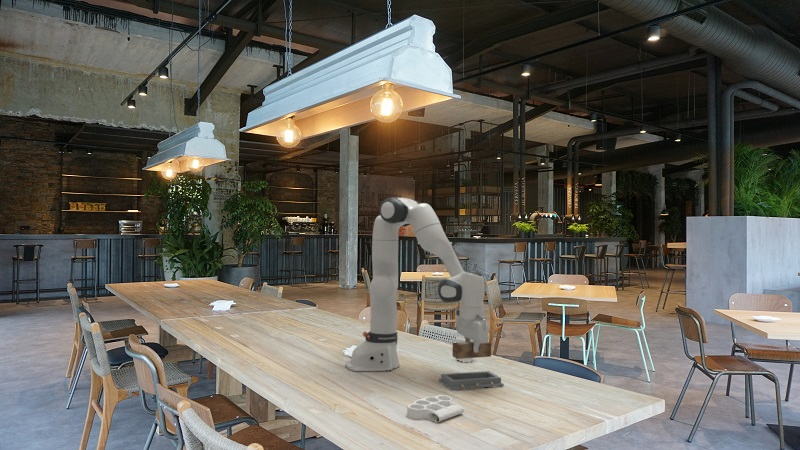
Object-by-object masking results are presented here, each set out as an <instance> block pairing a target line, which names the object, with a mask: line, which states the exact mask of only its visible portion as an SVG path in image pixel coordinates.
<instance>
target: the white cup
mask: <svg viewBox="0 0 800 450" xmlns="http://www.w3.org/2000/svg"><path fill="white" fill-rule="evenodd" d="M455 341H456V342H455V343H460V342H465V339H464V336H457V337H455ZM470 341H471V342H473V340H471V339H470ZM457 360H459V361H465V362H464V363H466V362H467V363H470V362H469V361H473V358H463V359H456V361H457ZM459 361H458V362H459Z"/></svg>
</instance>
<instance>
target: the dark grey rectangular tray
mask: <svg viewBox="0 0 800 450" xmlns="http://www.w3.org/2000/svg"><path fill="white" fill-rule="evenodd" d="M440 376H441V378H438V382H439V381H440V382H441V383H440V382H439V383H440V384H442V383H443V384H444V385H445V386H444V385H443V384H442V385H443V386H444V387H446V386H447V387H448V388H450V389H451V390H456V391H460V390H459V389H469V390H472V389H471V388H482V389H485V388H484V387H494V386H504V387H505V384H504V382H502V378H501V376H498V375H496V374H495V373H493V372H491V371H490V370H489V371H488V370H485V371H484V370H483V371H471V372H470V371H468V372H455V373H442V374H440ZM447 387H446V388H447ZM448 388H447V389H448ZM494 388H495V387H494ZM450 389H449V390H450ZM451 390H450V391H451Z"/></svg>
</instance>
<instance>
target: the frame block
mask: <svg viewBox="0 0 800 450" xmlns="http://www.w3.org/2000/svg"><path fill="white" fill-rule="evenodd" d="M473 346H474V343H473V342H460V343H456V342H452V353H451V354H452V357H453V358H454V359H456V360H457V359H463V358H472V359H474V358H477V359H478V358H486V357H487V358H489V357H490V358H491V357H492V342H489V341H488V343H480V345H479V348H478V352H477V353H475V352H473V351H472V347H473Z"/></svg>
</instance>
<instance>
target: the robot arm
mask: <svg viewBox="0 0 800 450" xmlns="http://www.w3.org/2000/svg"><path fill="white" fill-rule="evenodd" d="M408 226H411V228H412V230H413V233H414V235H415V238H416V241H417V242H418V244H419V245H420V247H421V248H422V249H423V251H426V252H427V253H431V254H432V255H434V256H436V257H438V258H439V259H440V260H441V261H442V262H443V264H444V266H445V267H446V270H447V272H448V274H449V276H450V277H448V278H445V279H442V280H441V281H440V282H439V284H438V285H437V295H438V297H439V299H440V300H441V301H442V302H444V303H447V304H455V303H459V304H460V307H459V308H457V309H456V310H455V316H456V320H455V321H456V331H457V335H458V334H459V335H460V336H462V337H464V339H465V342H471V341H470V339H471V340H473V343H474V346H473V347H472V351H473V352H475V353H477V352H478V348H479V345H480V343H488V342H489V339H490V336H489V324H488V323H487V321H486V320H485V303H484V298H485V280H484V276H483V274H482V273H481V272H479V271H477V270H475V269H474V270H473V269H465V268H464V266H463V263H462V262H461V260H460V257H459V256H458V254H457V252H456V250H455V248H454V247H453V245H452V244H451V242H450V240H449V239H448V237H447V235H446V233H445V231H444V229H443V226H442V224H441V221H440V219H439V217H438V216H437V214H436V212H435V210H434V209H433V208H432V206H431V205H430V204H429V203H426V202H423V203H421V202H419V200H416V199H412V198H407V197H395V196H394V197H393V196H392V197H388V198H386V199H384V200H383V201H382V202H381V204H380V206H379V215H378V216H376V218H375V220H374V223H373V228H372V229H373V230H372V240H371V241H372V242H371V243H372V245H371V247H372V249H371V262H372V264H371V265H372V279H371V282H370V283H369V284H370V285H369V301H370V306H369V307H370V327H369V328H370V331H368V332H366V331H363V332H362V336H363V337H364V339H365V341H363V342H362V343H361V344H359V345H358V346H357V347H356V348H354V349H353V351H352V354H351V359H350V360H348V361H346V362H345V367H346V368H347V369H348V370H350V371H352V372H390V371H389V370H391V371H392V370H394V369H397V368H398V367H400V362H399V358H398V356H399V355H398V348H397V346H398V339H399V337H398V331H397V322H398V321H397V317H398V315H397V314H398V311H397V310H398V308H397V304H398V303H397V298H398V297H397V295H398V294H397V293H398V288H399V231H400V229H401V227H404V228H405V227H408ZM393 368H394V369H393ZM386 370H388V371H386Z"/></svg>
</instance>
